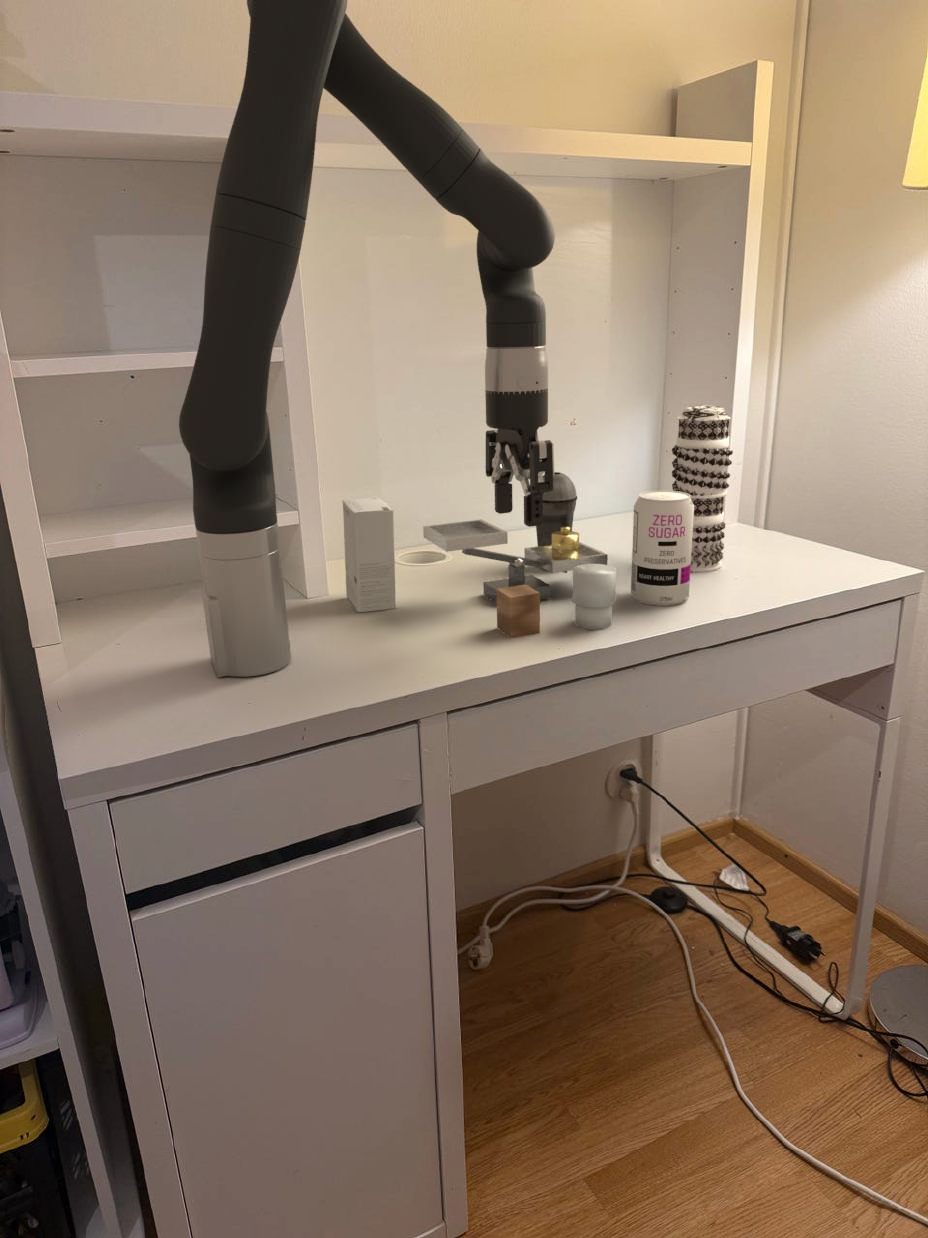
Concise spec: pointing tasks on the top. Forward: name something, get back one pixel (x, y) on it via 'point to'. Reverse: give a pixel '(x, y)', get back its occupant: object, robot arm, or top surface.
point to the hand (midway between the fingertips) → (518, 518)
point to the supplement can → (662, 547)
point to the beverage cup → (556, 507)
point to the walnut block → (518, 611)
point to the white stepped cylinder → (594, 595)
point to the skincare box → (369, 554)
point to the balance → (550, 557)
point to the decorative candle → (704, 479)
